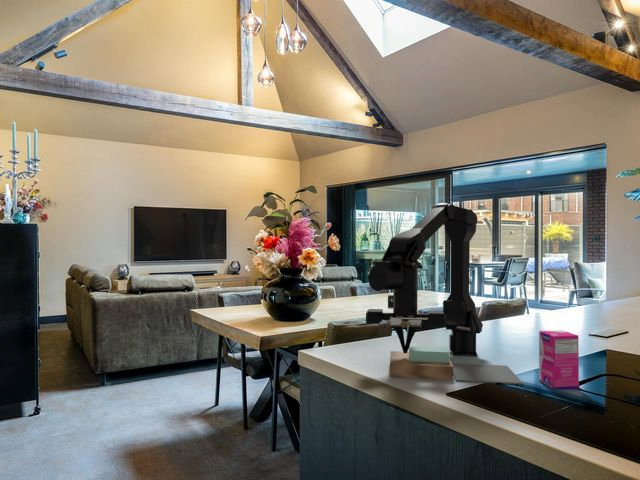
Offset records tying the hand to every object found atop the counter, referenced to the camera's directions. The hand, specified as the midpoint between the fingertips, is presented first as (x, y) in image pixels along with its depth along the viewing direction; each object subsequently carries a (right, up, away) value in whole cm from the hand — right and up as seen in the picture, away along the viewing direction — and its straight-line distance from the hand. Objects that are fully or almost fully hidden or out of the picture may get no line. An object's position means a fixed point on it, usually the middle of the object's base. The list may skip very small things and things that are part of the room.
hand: (405, 353), depth 110 cm
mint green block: (+5, 0, -1) cm, 6 cm away
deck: (+3, -4, -1) cm, 5 cm away
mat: (+18, -4, -3) cm, 18 cm away
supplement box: (+31, -4, -11) cm, 33 cm away
